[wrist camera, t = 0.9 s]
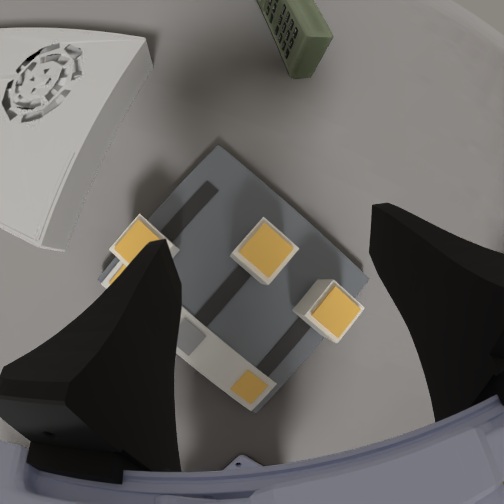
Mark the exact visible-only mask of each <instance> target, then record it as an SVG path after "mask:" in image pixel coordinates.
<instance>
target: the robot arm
mask: <svg viewBox="0 0 504 504" xmlns="http://www.w3.org/2000/svg"><path fill="white" fill-rule="evenodd" d="M369 254H370V256H371V258H372V261H373V263H374V266H375V268H376V270H377V273H378V275H379V277H380V279H381V280H382V282H383V284H384V286H385V287H386V289H387V291H388V293H389V294H390V296H391V298H392V299H393V301H394V303H395V305H396V306H397V308H398V310H399V312H400V314H401V315H402V317H403V319H404V321H405V323H406V325H407V327H408V329H409V331H410V334H411V337H412V339H413V342H414V344H415V347H416V350H417V352H418V355H419V358H420V361H421V365H422V368H423V371H424V374H425V378H426V381H427V385H428V389H429V393H430V397H431V402H432V407H433V412H434V417H435V423H433V424H430V425H428V426H425V427H422V428H420V429H417V430H414V431H412V432H409V433H406V434H403V435H400V436H397V437H394V438H391V439H388V440H384V441H381V442H378V443H374V444H371V445H367V446H364V447H360V448H356V449H353V450H349V451H345V452H340V453H336V454H332V455H327V456H323V457H318V458H313V459H308V460H302V461H297V462H291V463H285V464H278V465H271V466H262V465H260V464H258V463H257V462H255V461H253V460H252V459H250V458H248V457H247V456H245V455H239V456H238V457H237V458H236V459H234V460H233V461H232V462H231V463H230V464H229V465H228V466H227V467H226V468H225V469H224V470H222V471H203V472H181V466H180V459H179V452H178V444H177V433H176V421H175V401H174V366H175V356H176V348H177V340H178V333H179V325H180V318H181V310H182V283H181V281H180V278H179V275H178V272H177V269H176V267H175V264H174V261H173V258H172V255H171V252H170V249H169V246H168V243H167V240H166V239H161V240H155V241H150V242H149V243H148V244H146V245H145V247H144V248H143V249H142V250H141V251H140V252H139V253H138V254H137V255H136V257H135V258H134V259H133V260H132V261H131V262H130V264H129V265H128V266H127V267H126V268H125V269H124V270H123V272H122V273H121V274H120V275H119V276H118V277H117V278H116V279H115V281H114V282H113V283H112V284H111V285H110V286H109V287H108V288H107V289H106V290H105V291H104V292H103V294H102V295H101V296H100V297H99V298H98V299H97V300H96V301H95V302H94V303H93V304H92V305H90V306H89V307H88V308H87V309H86V310H85V311H84V312H83V313H82V314H81V315H79V316H78V317H77V318H76V319H75V320H73V321H72V322H71V323H70V324H68V325H67V326H66V327H65V328H63V329H62V330H61V331H60V332H59V333H57V334H56V335H54V336H53V337H52V338H50V339H49V340H47V341H46V342H45V343H43V344H42V345H40V346H39V347H37V348H36V349H34V350H32V351H31V352H29V353H27V354H26V355H24V356H22V357H20V358H19V359H17V360H15V361H13V362H12V363H10V364H8V365H6V366H4V367H3V369H2V372H1V375H0V417H1V418H2V419H3V420H4V421H5V422H7V423H8V424H9V425H10V426H12V427H13V428H14V429H15V430H17V431H18V432H19V433H21V434H22V435H23V436H24V437H26V438H27V439H28V440H30V441H31V443H30V447H29V449H27V448H25V447H23V446H20V445H17V444H13V443H9V442H5V441H1V440H0V504H504V484H503V481H504V254H503V253H500V252H496V251H493V250H490V249H488V248H485V247H482V246H480V245H477V244H475V243H472V242H470V241H467V240H465V239H462V238H460V237H458V236H456V235H454V234H452V233H449V232H447V231H445V230H443V229H441V228H439V227H437V226H435V225H433V224H431V223H429V222H427V221H425V220H423V219H421V218H419V217H418V216H416V215H414V214H412V213H410V212H408V211H406V210H404V209H402V208H399V207H397V206H395V205H392V204H390V203H382V204H375V205H372V218H371V234H370V247H369ZM236 463H241V464H240V465H236Z"/></svg>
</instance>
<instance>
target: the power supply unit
mask: <svg viewBox="0 0 504 504" xmlns="http://www.w3.org/2000/svg"><path fill="white" fill-rule="evenodd" d="M37 51H40V54H39V55H37V56H36V57H35V58H34V59H33V60H32V61H25V60H26V58H28V57H29V56H31V55H32V54H34V53H36V52H37ZM152 69H153V64H152V60H151V57H150V53H149V49H148V46H147V42H146V39H145V38H144V37H138V36H132V35H125V34H118V33H110V32H102V31H92V30H80V29H65V28H0V228H2V229H3V230H5V231H7V232H9V233H11V234H13V235H15V236H17V237H19V238H21V239H23V240H25V241H27V242H29V243H31V244H33V245H35V246H37V247H40V248H45V249H50V250H55V251H61V252H64V251H65V250H66V249H67V246H68V243H69V240H70V237H71V235H72V232H73V229H74V226H75V224H76V221H77V218H78V216H79V213H80V211H81V208H82V206H83V203H84V201H85V198H86V196H87V194H88V191H89V189H90V186H91V184H92V182H93V180H94V177H95V175H96V173H97V171H98V168H99V166H100V164H101V162H102V160H103V158H104V156H105V154H106V152H107V149H108V147H109V145H110V143H111V141H112V139H113V137H114V135H115V133H116V132H117V130H118V128H119V126H120V124H121V122H122V120H123V118H124V116H125V115H126V113H127V111H128V109H129V107H130V106H131V104H132V102H133V100H134V99H135V97H136V95H137V93H138V92H139V90H140V88H141V87H142V85H143V83H144V82H145V80H146V78H147V77H148V75H149V74H150V72H151V70H152Z"/></svg>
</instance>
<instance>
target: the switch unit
mask: <svg viewBox="0 0 504 504" xmlns="http://www.w3.org/2000/svg"><path fill="white" fill-rule="evenodd" d="M263 217H264V218H266V219H267V220H268V221H269V222H270V223H271V224H272V225H274V226H275V227H276V228H277V229H278V230H279V231H280V232H282V233H283V234H284V235H285V236H286V237H287V238H288V239H289V240H291V241H292V242H293V243H294V244H295V245H296V246H297V247H298V248H299V250H298V251H297V252H296V253H295V254H294V256H293V257H292V258H291V259H290V260H289V262H288V263H287V264H286V265H285V266H284V267H283V269H282V270H281V271H280V272H279V273H278V275H277V276H276V277H275V278H274V279H273V280H272V282H271V283H270V284H269V285H265V284H261V283H259V282H258V281H257V280H256V279H255V278H254V277H253V276H251V275H250V274H249V273H248V272H247V271H246V270H245V269H243V268H242V267H241V266H240V265H239V264H238V263H237V262H235V261H234V260H233V259H232V258H231V257H230V255H231V253H232V252H233V251H234V250H235V248H236V247H237V246H238V245H239V244H240V243H241V242H242V241H243V239H244V238H245V237H246V236H247V235H248V234H249V233H250V231H251V230H252V229H253V228H254V227H255V226H256V225H257V224H258V222H259V221H260V220H261V219H262V218H263ZM147 220H148V221H149V222H150V223H151V224H152V225H153V226H154V227H156V228H157V229H158V230H159V231H160V232H161V233H162V234H163V235H164V236H165V237H166V238H168V239H169V240H170V241H171V242H172V243H173V244H174V245H175V246H176V247H177V248H179V249H180V251H179V252H178V253H177V254H176V255H175V256H174V257H173V261H174V264H175V267H176V269H177V272H178V275H179V278H180V281H181V283H182V310H181V318H180V325H179V333H178V340H177V348H176V353H177V354H178V355H179V356H180V357H181V358H182V359H184V360H185V361H186V362H187V363H189V364H190V365H191V366H192V367H193V368H195V369H196V370H197V371H198V372H200V373H201V374H202V375H203V376H205V377H206V378H207V379H208V380H210V381H211V382H212V383H214V384H215V385H216V386H217V387H219V388H220V389H221V390H223V391H224V392H225V393H227V394H228V395H229V396H231V397H232V398H233V399H235V400H236V401H237V402H239V403H240V404H242V405H243V406H244V407H246V408H247V409H248V410H250V411H252V412H254V413H255V414H256V413H257V412H258V411H259V410H260V409H261V408H262V407H263V406H264V405H265V404H266V403H267V402H268V401H269V399H270V398H271V397H272V396H273V395H274V394H275V393H276V392H277V391H278V390H279V389H280V388H281V386H282V385H283V384H284V383H285V382H286V381H287V380H288V379H289V378H290V376H291V375H292V374H293V373H294V372H295V371H296V370H297V368H298V367H299V366H300V365H301V364H302V363H303V362H304V360H305V359H306V358H307V357H308V356H309V355H310V353H311V352H312V351H313V350H314V349H315V347H316V346H317V345H318V344H319V343H320V341H321V340H322V339H323V338H324V337H323V336H322V335H320V334H319V333H318V332H317V331H315V330H314V329H313V328H312V327H311V326H310V325H308V324H307V323H306V322H305V321H304V320H302V319H301V318H300V317H299V316H298V315H297V314H295V313H294V312H293V311H292V310H293V309H294V307H295V306H296V305H297V304H298V303H299V301H300V300H301V299H302V298H303V297H304V295H305V294H306V293H307V292H308V290H309V289H310V288H311V287H312V286H313V284H314V283H315V282H316V281H317V279H334V280H335V281H336V282H337V283H338V284H339V285H340V286H341V287H343V288H344V289H345V290H346V291H347V292H348V293H349V294H350V295H351V296H352V297H353V298H354V299H355V297H356V296H357V295H358V293H359V292H360V291H361V289H362V288H363V287H364V285H365V284H366V283H367V281H368V280H369V278H368V277H367V276H366V275H365V274H364V273H363V272H362V271H361V270H360V269H359V268H358V267H357V266H356V265H355V264H354V263H353V262H352V261H351V260H349V259H348V258H347V257H346V256H345V255H344V254H343V253H342V252H341V251H340V250H339V249H338V248H337V247H336V246H334V245H333V244H332V243H331V242H330V241H329V240H328V239H327V238H326V237H325V236H324V235H323V234H321V233H320V232H319V231H318V230H317V229H316V228H315V227H314V226H313V225H312V224H310V223H309V222H308V221H307V220H306V219H305V218H304V217H303V216H302V215H300V214H299V213H298V212H297V211H296V210H295V209H294V208H293V207H291V206H290V205H289V204H288V203H287V202H286V201H285V200H283V199H282V198H281V197H280V196H279V195H278V194H277V193H275V192H274V191H273V190H272V189H271V188H270V187H268V186H267V185H266V184H265V183H264V182H263V181H261V180H260V179H259V178H258V177H257V176H256V175H254V174H253V173H252V172H251V171H250V170H248V169H247V168H246V167H245V166H244V165H243V164H241V163H240V162H239V161H238V160H237V159H235V158H234V157H233V156H232V155H230V154H229V153H228V152H227V151H226V150H224V149H223V148H222V147H221V146H219V145H218V146H217V147H215V148H214V149H213V150H212V151H211V152H210V153H209V154H208V155H207V156H206V157H205V158H204V159H203V161H202V162H201V163H200V164H199V165H198V166H197V167H196V168H195V169H194V170H193V171H192V172H191V173H190V174H189V175H188V176H187V177H186V178H185V179H184V180H183V181H182V182H181V183H180V184H179V185H178V186H177V188H176V189H175V190H174V191H173V192H172V193H171V194H170V195H169V196H168V197H167V198H166V199H165V201H164V202H163V203H162V204H161V205H160V206H159V207H158V208H157V209H156V210H155V212H154V213H153V214H152V215H151V216H150V217H149V218H148V219H147ZM125 268H126V266H125V265H124V264H123V263H122V262H121V261H120V260H119V259H118V258H117V257H115V258H114V259H113V261H112V262H111V263H110V264H109V266H108V267H107V268H106V269H105V271H104V272H103V273H102V274H101V276H100V277H99V278H98V280H99V281H100V282H101V284H102V285H103V286H104V287H105V288H106V289H107V288H108V287H109V286H110V285H111V284H112V283H113V282H114V281H115V279H116V278H117V277H118V276H119V275H120V274H121V273H122V272H123V270H124V269H125Z"/></svg>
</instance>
